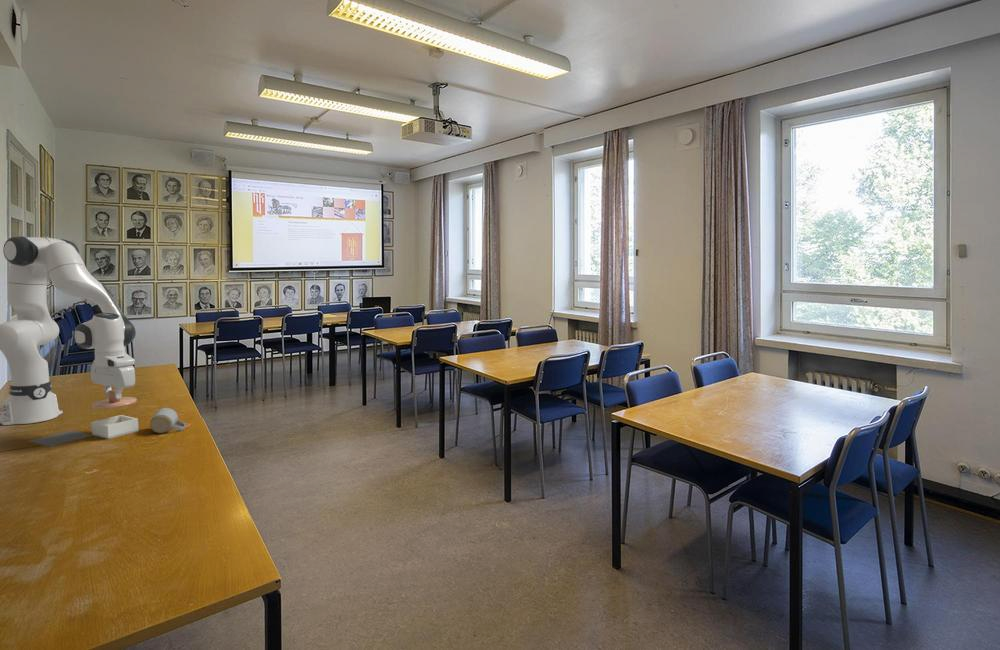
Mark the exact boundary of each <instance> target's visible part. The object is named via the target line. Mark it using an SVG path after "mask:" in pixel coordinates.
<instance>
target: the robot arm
mask: <svg viewBox="0 0 1000 650" xmlns="http://www.w3.org/2000/svg"><path fill="white" fill-rule="evenodd" d="M2 251H3V256H4V258H5V259H6V261H8V263H9V268H8V274H7V297H6V299H7V304H8V305H9V306H10V307H12V308H13V309H14V312H15V313H16V317H17V319H16V320H10V321H6V322H2V323H0V351H1V353H2V354H3V356H4V357H5V360H6V362H7V364H8V368H9V376H10V384H11V385H9V389H8V391H9V392H8V394H9V395H8V397H6V398H5V400H4V401H3V402H2V403H1V405H0V413H1V414H0V424H1V425H2V426H11V425H26V424H34V423H35V424H36V423H40V422H45V421H50V420H53V419H55V418H57V417H58V416H60V415H61V414H64V413H63V410H60V409H59V403H58V399H57V395H56V393H54V392H53V391H52V386H53V385H52V381H51V380H50V372H49V370H50V369H49V363H48V360H46V359H45V358H43V357H42V356H41V355H40V352H39V351H38V350H39V349H38V346H43V345H47V344H49V343H51V342H52V341H54V340H56V339H57V338H58V337H59V334H60V327H59V325H58V323H57V322H56V321H55V320H54V319H53V318H52V317H51V314H50V312H49V307H48V304H47V303H48V302H47V299H48V297H47V295H48V294H47V293H48V292H47V291H48V290H47V289H48V288H47V285H48V284H47V283H48V281H47V280H48V277H47V274H48V276H49V279H50V281H51V283H52V285H53V287H54V288H55V289H56V290H57V291H59V292H61V293H63V294H65V295H67V296H71V297H76V298H81V299H84V300H88V301H89V302H90V301H91V302H93V303H95V304H96V306H98V307H99V309H100V310H101V312H100V313H99V312H98V313H96V314H94V315H93V316H92V318H91V319H90V320H87V321H85V322H83V323H82V322H81V323H79V324H78V325H77V326H76V327H75V328H74V330H73V341H74V343H75V344H76V345H77V346H78V347H80V348H82V349H85V350H92V349H93V350H94V360H93V361H92V364H91V366H90V367H91V368H90V380H91V382H92V384H98V385H101V386H102V388H103V390H104V391H105V395H106V398H109V397H108V391H109V390H113V389H112V387H114V390H116V391H115V394H114V398H116V399H119V398H121V397H123V396H122V393H123V390H124V389H126V388H127V389H128V388H132V387H134V386H135V385H136V370H135V367H134V366H133V365H135V363H136V362H135V359H134V358H133V357H132V356H130V355H129V354H128V353H127V352H126V346H129V345H130V344H131V343H132V342H133V341H134V339H135V337H136V332H137V331H136V328H135V325H134V324H133V323H132V322H131V321H130V320H129V319H128V317H127V316H126V315H125V314H124V312H123V311H122V309H121V307H120V306H119V305H118V304H119V303H117V301H116V299H115V298H114V297H113V295H112V294H111V291H109V289H108V288H107V286H106V285H105V284H104V283H102V282H100V281H98V280H97V279H96V278H95V277H94V276H93V275H92V274H91V273H90V272H89V271H88V269H87V267H86V264H85V262H84V261H83V258H82V257H81V255H80V250H79V248H78V245H77V244H75V242H73V241H70V240H66V239H61V238H60V239H59V238H54V237H46V236H45V237H44V236H41V237H38V236H37V237H36V236H31V237H30V236H26V237H25V236H23V235H21V236H13V237H9V238H7V240H6V241H5V242H4V244H3V250H2Z"/></svg>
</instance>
